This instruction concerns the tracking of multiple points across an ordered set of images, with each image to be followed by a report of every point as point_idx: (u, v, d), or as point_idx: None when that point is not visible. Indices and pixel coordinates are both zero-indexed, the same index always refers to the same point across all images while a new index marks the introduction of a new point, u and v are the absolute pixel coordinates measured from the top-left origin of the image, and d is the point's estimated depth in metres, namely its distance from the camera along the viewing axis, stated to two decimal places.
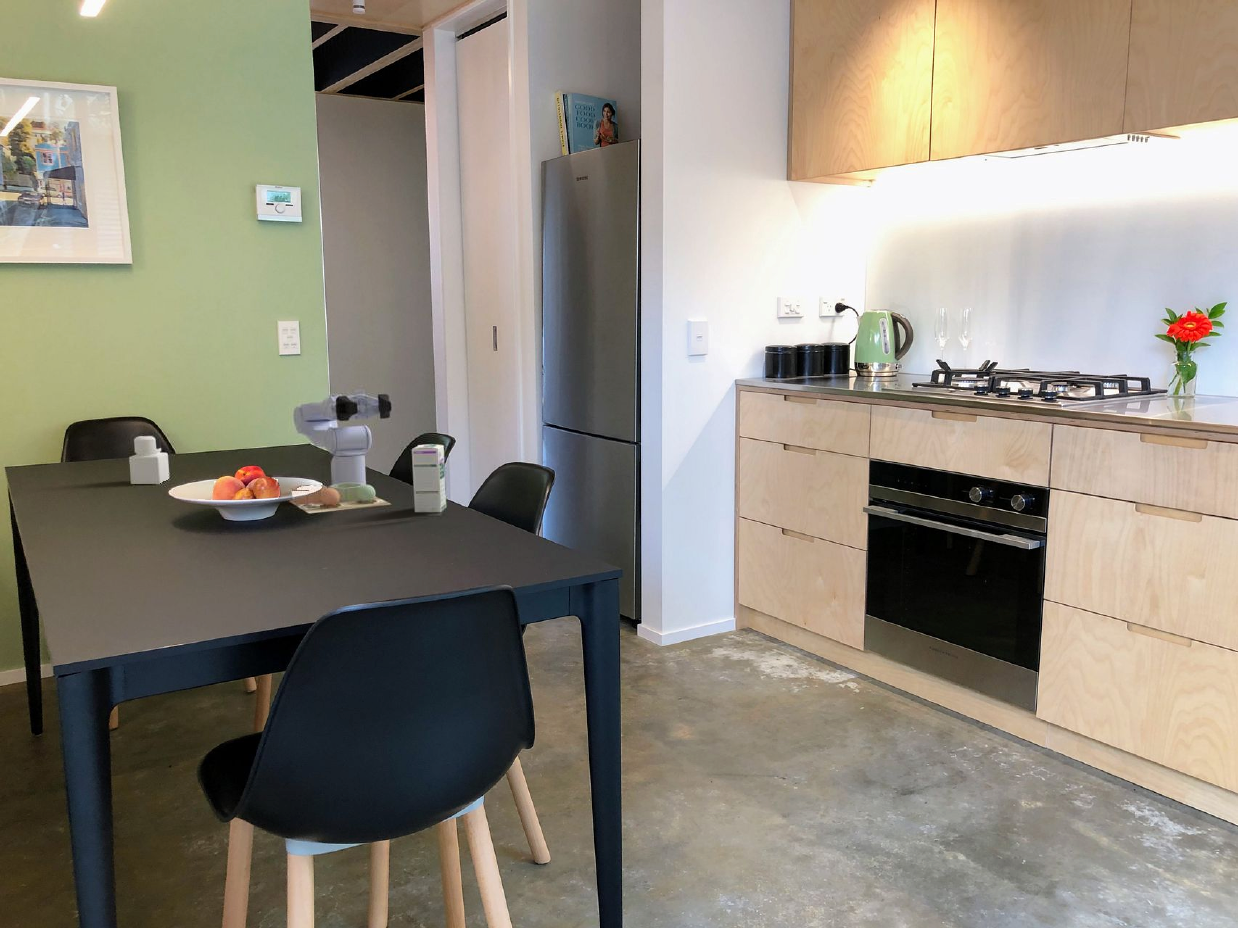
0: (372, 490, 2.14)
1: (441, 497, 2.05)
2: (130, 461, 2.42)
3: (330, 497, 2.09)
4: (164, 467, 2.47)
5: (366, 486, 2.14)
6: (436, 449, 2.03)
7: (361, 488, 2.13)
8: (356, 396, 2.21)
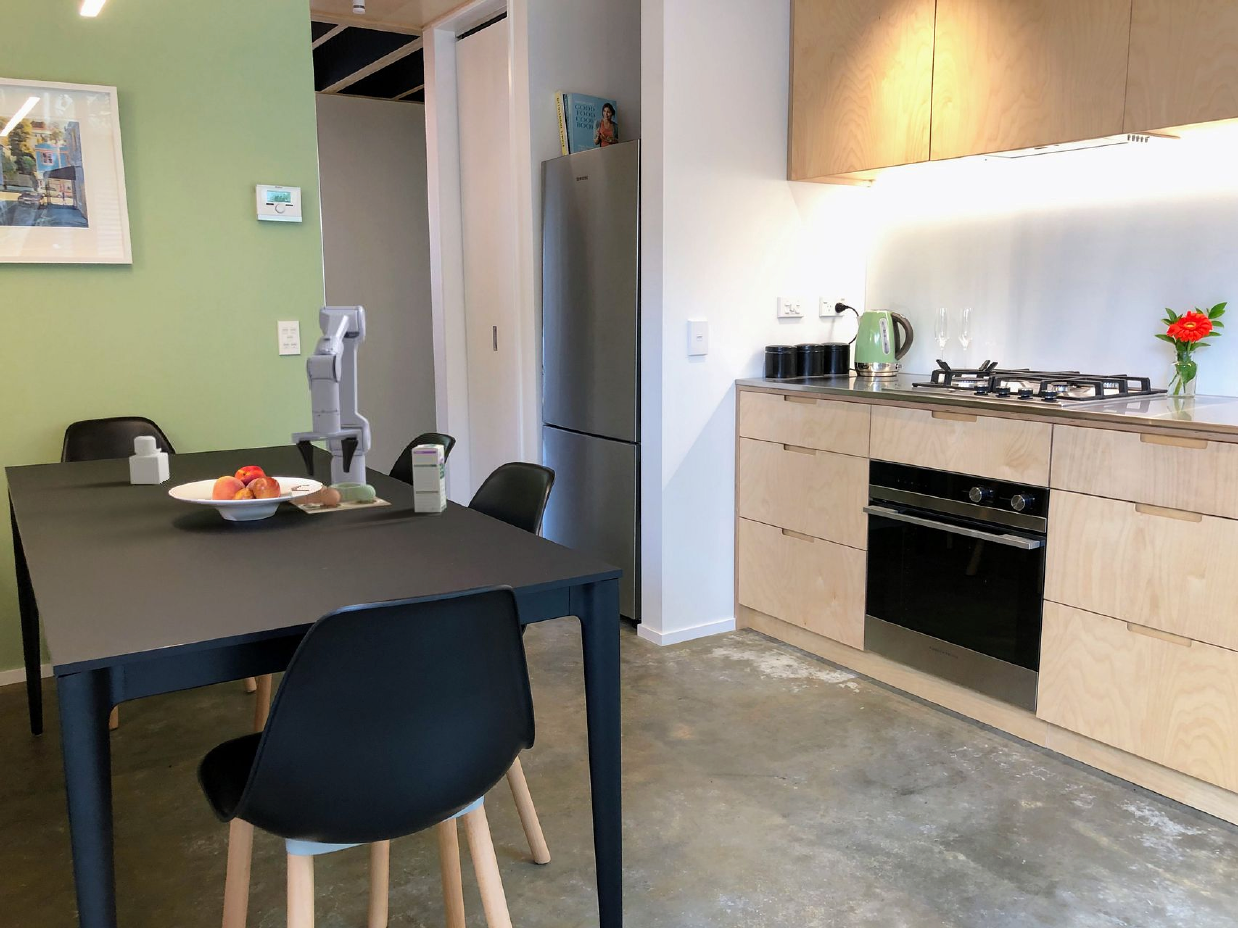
0: (372, 490, 2.14)
1: (441, 497, 2.05)
2: (130, 461, 2.42)
3: (330, 497, 2.09)
4: (164, 467, 2.47)
5: (366, 486, 2.14)
6: (436, 449, 2.03)
7: (361, 488, 2.13)
8: (326, 436, 2.06)
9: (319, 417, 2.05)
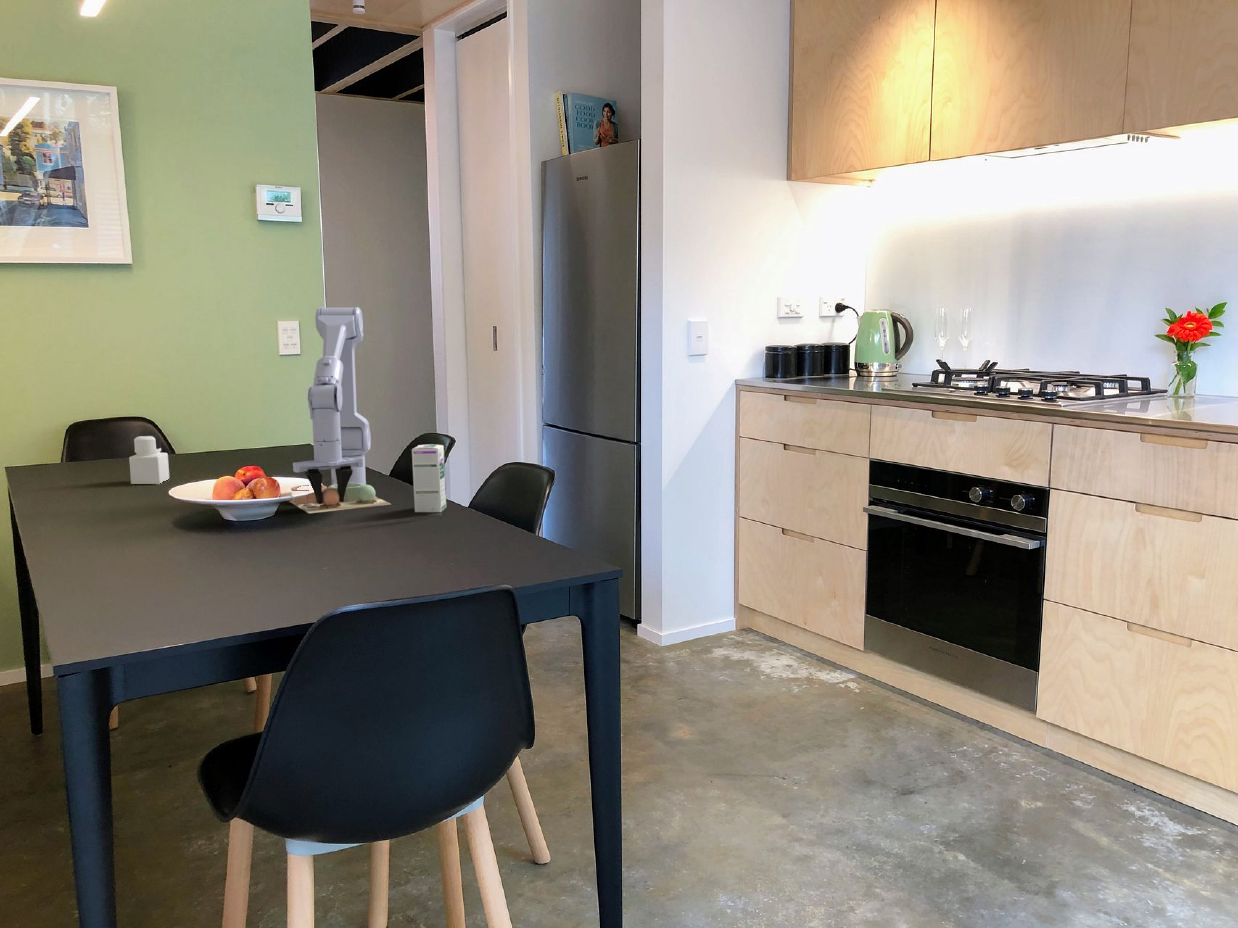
0: (372, 490, 2.14)
1: (441, 497, 2.05)
2: (130, 461, 2.42)
3: (330, 497, 2.09)
4: (164, 467, 2.47)
5: (366, 486, 2.14)
6: (436, 449, 2.03)
7: (361, 488, 2.13)
8: (327, 465, 2.07)
9: (320, 446, 2.06)
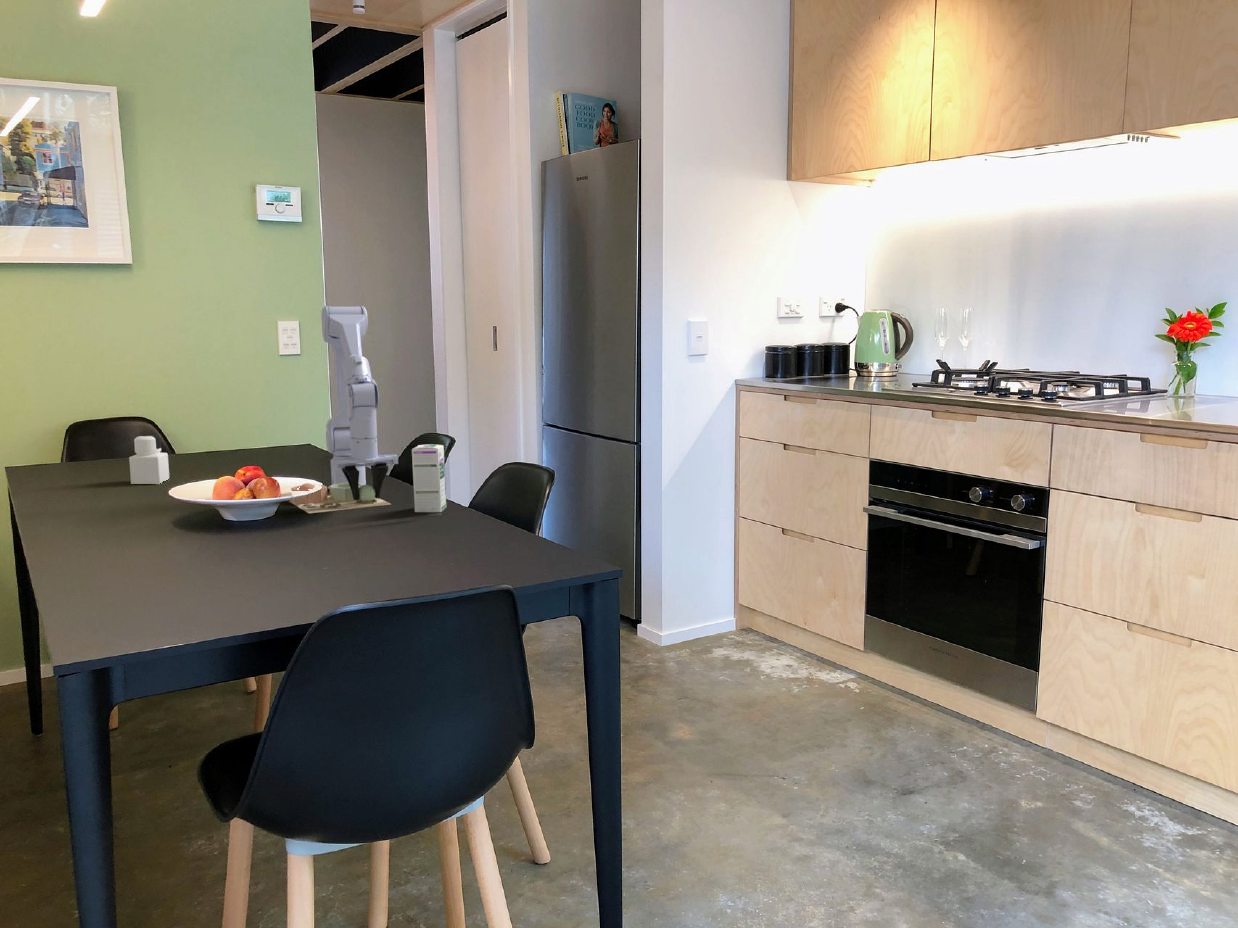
0: (372, 490, 2.14)
1: (441, 497, 2.05)
2: (130, 461, 2.42)
3: None
4: (164, 467, 2.47)
5: (366, 486, 2.14)
6: (436, 449, 2.03)
7: (361, 488, 2.13)
8: (364, 462, 2.11)
9: (358, 444, 2.10)
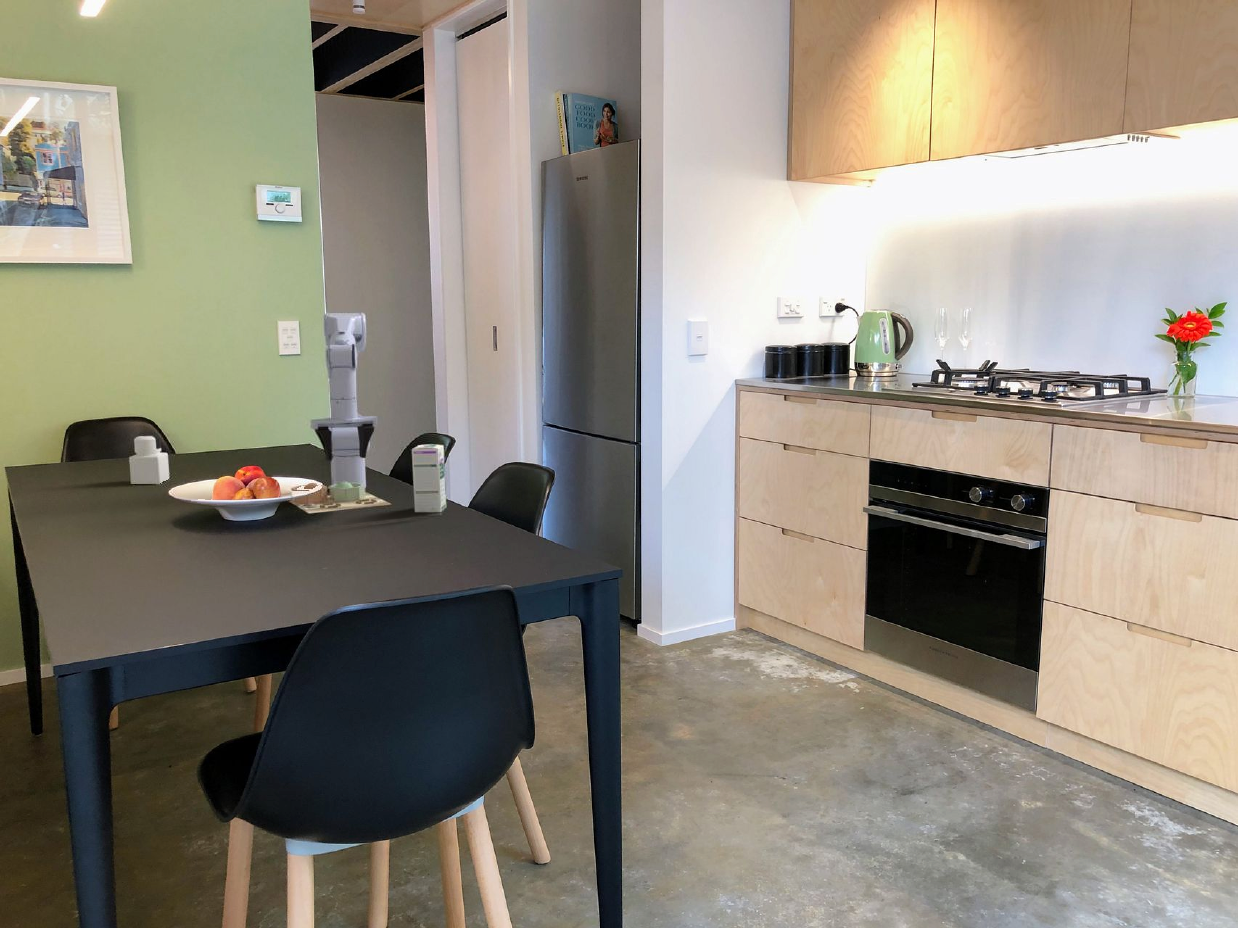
0: (348, 485, 2.18)
1: (441, 497, 2.05)
2: (130, 461, 2.42)
3: None
4: (164, 467, 2.47)
5: (341, 484, 2.18)
6: (436, 449, 2.03)
7: None
8: (343, 422, 2.15)
9: (337, 404, 2.14)
